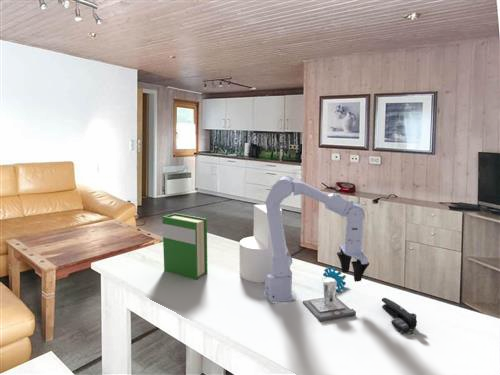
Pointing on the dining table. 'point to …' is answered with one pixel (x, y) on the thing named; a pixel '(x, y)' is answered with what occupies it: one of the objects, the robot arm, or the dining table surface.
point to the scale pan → (324, 308)
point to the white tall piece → (257, 249)
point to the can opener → (400, 316)
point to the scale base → (330, 315)
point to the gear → (335, 277)
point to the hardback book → (185, 245)
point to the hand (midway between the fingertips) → (351, 276)
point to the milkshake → (329, 291)
